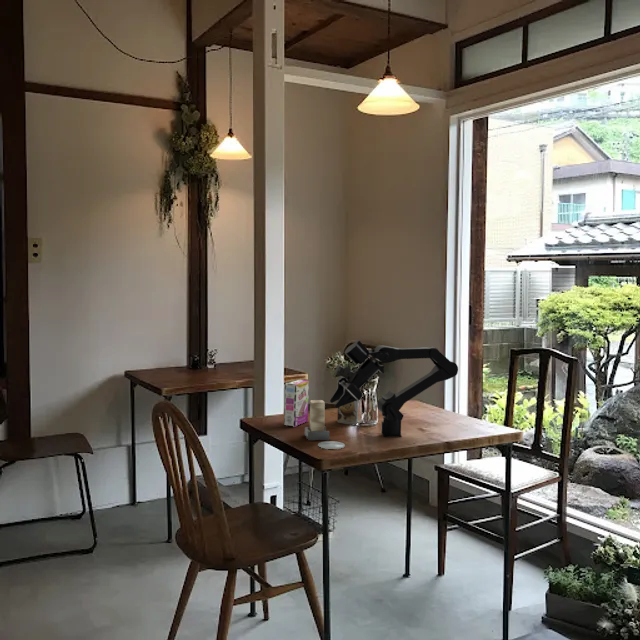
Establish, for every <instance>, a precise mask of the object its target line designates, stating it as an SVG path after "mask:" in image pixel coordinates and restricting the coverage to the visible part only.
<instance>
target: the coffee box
mask: <svg viewBox="0 0 640 640" xmlns="http://www.w3.org/2000/svg"><path fill="white" fill-rule="evenodd" d="M337 382H338V383H339V381H337ZM356 400H357V401H354V402H351V403H348V404H346V405H343V406H341V407H338V408H337V421H336V422H337V423H339V424H345V425H351V424H357V422H358V403H359V400H358V399H357V398H356Z"/></svg>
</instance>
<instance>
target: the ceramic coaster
mask: <svg viewBox="0 0 640 640" xmlns="http://www.w3.org/2000/svg"><path fill="white" fill-rule="evenodd" d="M318 446H319V447H321V448H320V449H322V448H325V449H324V450H328V449H337V450H342V449H344V448H345V447H346V445H345V443H343V442H340V441H336V440H335V441H334V440H332V441H329V440H325V441H321V442H319V443H317V447H318ZM319 447H318V448H319ZM341 448H342V449H341Z"/></svg>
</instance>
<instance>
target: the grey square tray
mask: <svg viewBox="0 0 640 640" xmlns="http://www.w3.org/2000/svg"><path fill="white" fill-rule="evenodd" d="M304 436H306V437H305V438H306V440H307V439H308V440H307V441H329V440H330V430H327V426H324V431H310V426H304Z"/></svg>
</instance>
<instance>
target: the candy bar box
mask: <svg viewBox="0 0 640 640" xmlns="http://www.w3.org/2000/svg"><path fill="white" fill-rule="evenodd" d="M284 387H285V388H284V389H285V390H284V418H283V419H284V421H283V426H284V425H286V426H285V427H288V426H293V427H292V428H296V427H299V426H301V425H303V423H304V424H306V423H308V422H309V395H310V394H309V393H310V392H309V387H310V381H309V380H306V379H305V380H303V379H297V380H294V381H289V382H286V383H285V384H284ZM305 422H306V423H305ZM300 424H301V425H300ZM298 425H299V426H298Z"/></svg>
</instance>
